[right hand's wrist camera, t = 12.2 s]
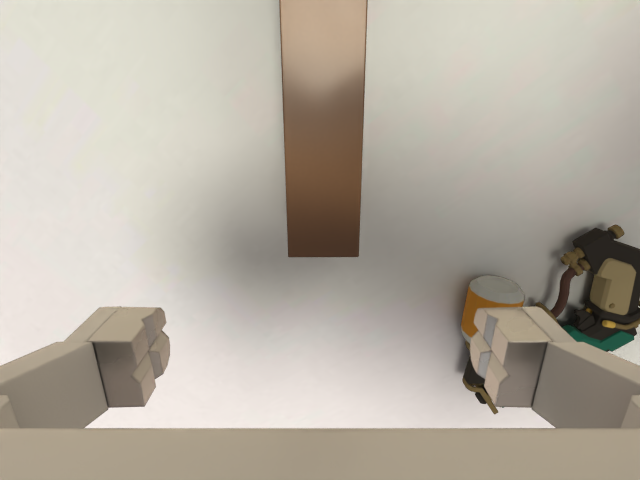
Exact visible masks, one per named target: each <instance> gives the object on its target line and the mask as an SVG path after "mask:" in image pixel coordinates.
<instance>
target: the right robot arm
mask: <svg viewBox="0 0 640 480" xmlns="http://www.w3.org/2000/svg"><path fill="white" fill-rule="evenodd" d="M165 324H166V318H165V313H164V311H163V310H162V309H161V308H155V307H100V308H98V309H97V310H96V311H95V312H94V313H93V314H92V315H91V316H90V317H89V318H88V319H87V320H86V321H85V322H84V323H83V324H82V325H80V326H79V327H78V328H77V329H76V330H75V331H74V332H73V333H72V334H71V335H70V336H69V337H68V338H67V339H66V340H65V341H64V342H56V343H53V344H51V345H48V346H46V347H44V348H41V349H39V350H37V351H34V352H32V353H30V354H27V355H25V356H23V357H20V358H18V359H15V360H13V361H11V362H8V363H6V364H4V365H1V366H0V480H640V366H638V365H636V364H634V363H631V362H629V361H627V360H624V359H622V358H620V357H617V356H615V355H613V354H610V353H608V352H606V351H603V350H601V349H599V348H596V347H594V346H592V345H589V344H587V343H585V342H576V341H575V340H574V339H573V338H572V337H571V336H570V335H569V334H568V333H567V332H566V331H565V330H564V329H563V328H562V327H561V326H560V325H559V324H557V323H556V322H555V321H554V320H553V319H552V318H551V317H550V316H549V315H548V314H547V313H546V312H545V311H544V310H543V309H542V308H539V307H536V306H534V307H499V308H478V309H477V311H476V313H475V317H474V324H475V326H476V327H477V329H478V331H477V332H476V333H475V334H474V335H473V336H472V337H471V343H470V356H471V361H472V365H473V367H474V369H475V371H476V373H477V374H478V375H479V376H481V377H482V378H484V379H485V384H484V387H485V389H486V391H487V393H488V394H489V396H490V398H491V400H492V401H493V403H494V405H495V407H530V408H532V410H533V411H535V412H536V413H537V414H539V415H540V416H541V417H543V418H544V419H545V420H546V421H548V422H549V423H550V424H552V425H553V426H554V427H556V428H85V427H86V426H87V425H88V424H90V423H91V422H92V421H94V420H95V419H96V418H98V417H99V416H100V415H102V414H103V413H104V412H105V411H107V410H108V408H110V407H145V405H146V403H147V401H148V400H149V398H150V396H151V394H152V393H153V391H154V389H155V387H156V384H155V379H156V378H158V377H159V376H161V375H162V374H163V373H164V371H165V369H166V367H167V365H168V361H169V356H170V342H169V337H168V336H167V335H166V334H165V333H164V332H163V331H162V329H163V327H164V326H165Z"/></svg>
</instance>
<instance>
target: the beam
mask: <svg viewBox="0 0 640 480" xmlns="http://www.w3.org/2000/svg"><path fill="white" fill-rule="evenodd" d="M279 3H280V32H281V61H282V90H283V118H284V147H285V176H286V205H287V234H288V257H358V256H359V233H360V204H361V175H362V145H363V116H364V87H365V58H366V29H367V0H279Z"/></svg>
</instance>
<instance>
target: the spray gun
mask: <svg viewBox="0 0 640 480" xmlns="http://www.w3.org/2000/svg"><path fill="white" fill-rule="evenodd" d="M623 235H624V231H623V229H622V228H621V227H620V226H618V225H613V226H611V227H609V228H608V231H603V230H600V229H597V228H594V229H593V230H591V231H589V232H588V233H586V234H584V235H582V236H581V237H579V238H577V239H576V240H574V241H573V245H574V247H575V249H574V251H573V252H572V251H571V252H567V253H566V254H564V256H563V257H561V261H562V263H563V264H565V265H569V264H570V266H569V269H568V270H566V271H565V272H564V274H563V275H562V277H561V280H560V292H559V296H558V300H557V302H556V304H555V306H554V308H553V309H552V310H551V311H550V310H549V309H547V308H546V307H545V306H544V305H543V304H541V303H540V302H537V303H536V307H539V308H542V309H543V310H544V311H545V312H546V313H547V314H548V315H549V316H550V317H551V318H552V319H553V320H554V321H555V322H556V323H557V324H558V321H557V319H556V317H557V316H559V314H560V313H561V312H562V311H563V309H564V307H565V305H566V303H567V300H568V296H569V289H570V281H571V279H572V278H573V277H574V276H575V275H576V276H579V275H581V274H583V270H586V271H587V270H588V271H590V272H592V273H593V274H595V275H594V279H593V283H592V288H591V292H590V300H591V301H590V300H587V301H585V302H584V304H585V306H586V307H588V308H587V309H586V311H585V310H575V311H574V313H575V314H576V315H578V318H577V320H576V322H575V323H574V324H573V325H574V326H575V327H574V326H571V325H565V326H563V327H562V328H563V329H564V330H565V331H566V332H567V333H568V334H569V335H570V336H571V337H572V338H573V339H574V340H575V341H576V342H585V343H587V344H589V345H592V346H594V347H596V348H599V349H601V350H603V351H606V352H608V351H614V350H616V349H618V348H619V347H621V346H623V345H625V344H627V343H629V342H631V341H632V340H634V336H635V335H636V334H637V332H636V329H635V328H637V327H638V325H639V324H640V308H639V307H638V306H640V301H639V299H640V249H638V248H635V247H632V246H629V245H626V244H623V243H620V242H617V241H614V238H615V239H619V238H620V237H621V236H623ZM578 258H580V259H579V260H578ZM577 260H578V263H576V262H577ZM524 298H525V295H524V293H523V292H522V290H521V289H520V287H519V286H518V285H517V284H516V283H514V282H513V281H511V280H508V279H506V278H502V277H498V276H491V275H485V276H480V277H478V278H476V279H474V280H472V281H471V282H470V284H469V287H468V292H467V297H466V302H465V307H464V312H463V317H462V322H461V332H462V335H463V337H464V338H465V339H466V342H465V344H466V347H467V348H468V349H469V350H470V343H471V337H472V336H473V335H474V334H475V333H476V332H477V331H478V329H477V327H476V326H475V324H474V317H475V313H476V311H477V309H478V308H499V307H522V306H523V303H524ZM463 383H464V385H465V387H466V388H467V389H468V390H470V391H473V392H476V393H475V395H476V397H477V399H478V400H479V402H480V403H482V404H486V403H487V404H488V406H489V407H490V409H491V410H492V412H493V413H494V414H496V413H498V410H497V409H496V407H495V406H494V404H493V403H492V400H491V398H490V396H489V394H488V393H487V391H486V389H485V387H484V384H485V379H484V378H482V377H481V376H479V375H478V374H477V373H476V371H475V369H474V367H473V365H472V361H471V356H469V360H468V363H467V366H466V369H465V373H464V376H463ZM471 385H472V386H471ZM474 385H476V387H473V386H474ZM502 408H503V407H502Z"/></svg>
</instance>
